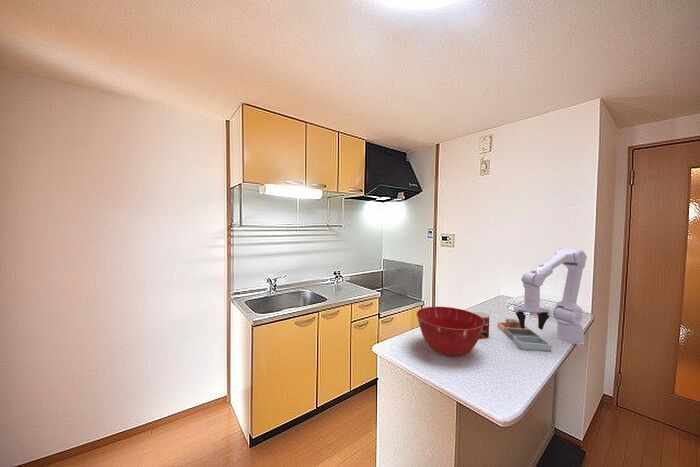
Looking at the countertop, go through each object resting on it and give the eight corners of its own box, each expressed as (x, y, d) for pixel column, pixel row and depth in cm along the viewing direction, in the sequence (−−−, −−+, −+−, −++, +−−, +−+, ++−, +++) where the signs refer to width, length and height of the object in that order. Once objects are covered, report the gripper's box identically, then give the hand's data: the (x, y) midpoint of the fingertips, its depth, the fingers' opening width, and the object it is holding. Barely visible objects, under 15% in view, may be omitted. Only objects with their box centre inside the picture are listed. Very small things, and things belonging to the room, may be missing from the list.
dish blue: (540, 343, 125) (540, 337, 125) (551, 351, 117) (551, 344, 117) (512, 341, 127) (512, 335, 127) (521, 349, 119) (521, 343, 118)
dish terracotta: (521, 328, 143) (521, 323, 143) (529, 334, 135) (529, 329, 134) (497, 327, 144) (497, 321, 144) (503, 333, 136) (503, 327, 136)
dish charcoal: (530, 335, 134) (530, 329, 134) (539, 342, 126) (539, 336, 126) (504, 334, 136) (504, 328, 135) (511, 341, 127) (511, 334, 127)
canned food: (471, 337, 132) (471, 315, 131) (472, 331, 139) (472, 310, 138) (489, 340, 128) (489, 318, 128) (489, 334, 135) (489, 313, 135)
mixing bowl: (486, 344, 123) (486, 312, 123) (481, 374, 99) (482, 333, 98) (425, 332, 138) (425, 303, 137) (407, 355, 113) (408, 320, 113)
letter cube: (515, 328, 142) (516, 319, 141) (520, 332, 137) (520, 322, 136) (505, 327, 142) (506, 318, 142) (510, 331, 137) (510, 321, 137)
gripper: (544, 297, 124) (543, 325, 124) (510, 296, 126) (510, 324, 126) (553, 301, 117) (552, 331, 117) (517, 300, 119) (517, 330, 119)
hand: (531, 328), depth 121 cm, fingers open, 7 cm apart
